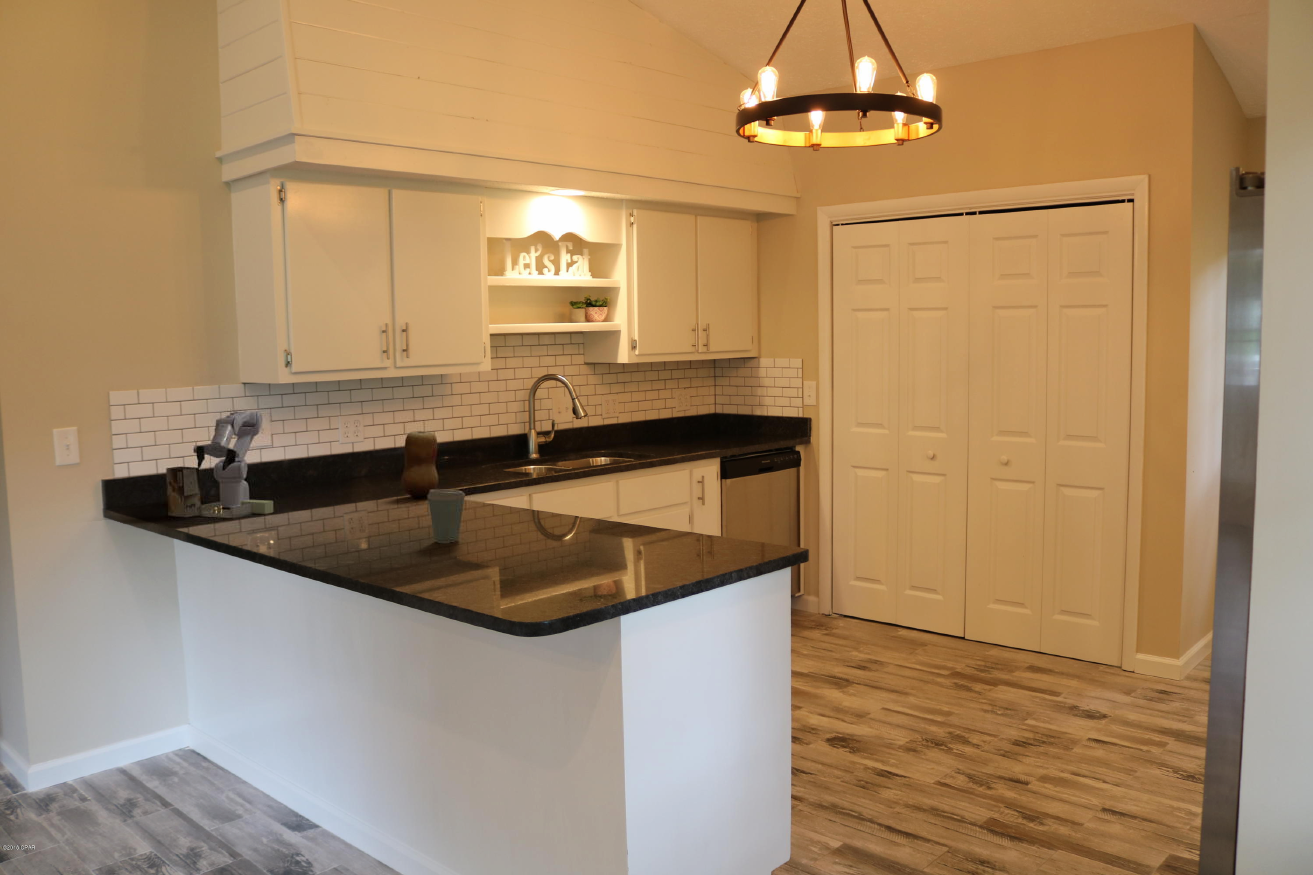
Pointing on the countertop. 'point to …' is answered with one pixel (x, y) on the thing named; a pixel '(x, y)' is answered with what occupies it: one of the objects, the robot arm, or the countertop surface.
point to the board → (260, 506)
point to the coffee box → (183, 491)
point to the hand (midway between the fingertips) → (211, 467)
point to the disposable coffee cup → (446, 514)
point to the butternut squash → (420, 464)
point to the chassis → (217, 511)
